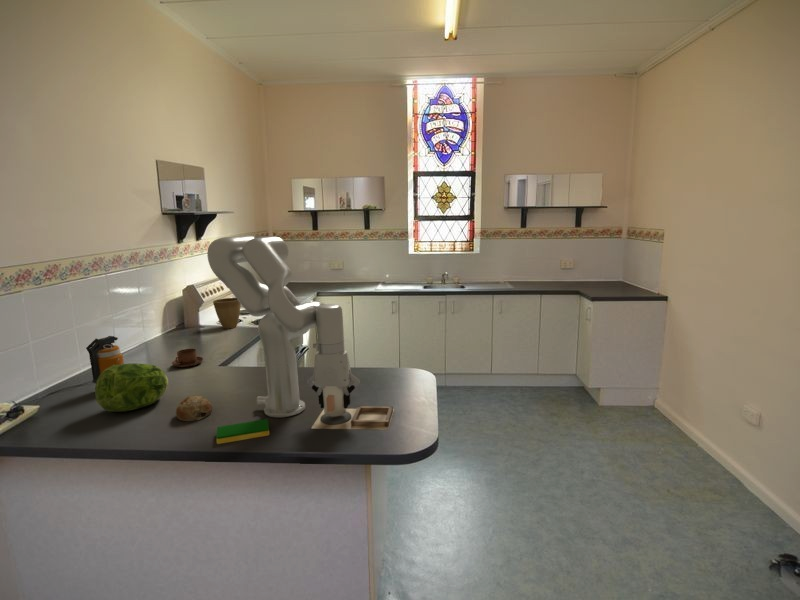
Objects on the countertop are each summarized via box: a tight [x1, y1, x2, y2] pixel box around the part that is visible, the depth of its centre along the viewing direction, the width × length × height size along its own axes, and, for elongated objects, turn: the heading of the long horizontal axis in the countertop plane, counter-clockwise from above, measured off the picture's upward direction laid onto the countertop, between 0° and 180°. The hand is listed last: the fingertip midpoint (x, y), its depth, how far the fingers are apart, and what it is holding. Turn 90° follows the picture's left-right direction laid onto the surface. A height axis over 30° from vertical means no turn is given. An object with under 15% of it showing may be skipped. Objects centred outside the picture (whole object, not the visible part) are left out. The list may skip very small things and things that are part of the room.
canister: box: [85, 335, 125, 384], centre depth 171 cm, size 9×11×20 cm
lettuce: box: [94, 362, 169, 413], centre depth 156 cm, size 16×21×15 cm
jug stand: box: [310, 405, 395, 431], centre depth 139 cm, size 22×14×2 cm, turn 84°
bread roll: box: [175, 395, 213, 422], centre depth 147 cm, size 10×10×8 cm
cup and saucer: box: [171, 348, 204, 368], centre depth 201 cm, size 12×12×6 cm
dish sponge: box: [215, 418, 271, 445], centre depth 133 cm, size 7×14×2 cm, turn 108°
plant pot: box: [212, 297, 242, 329], centre depth 269 cm, size 15×15×16 cm
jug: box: [323, 386, 346, 417], centre depth 137 cm, size 9×6×9 cm
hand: (334, 406), depth 139 cm, fingers closed on jug, 6 cm apart
